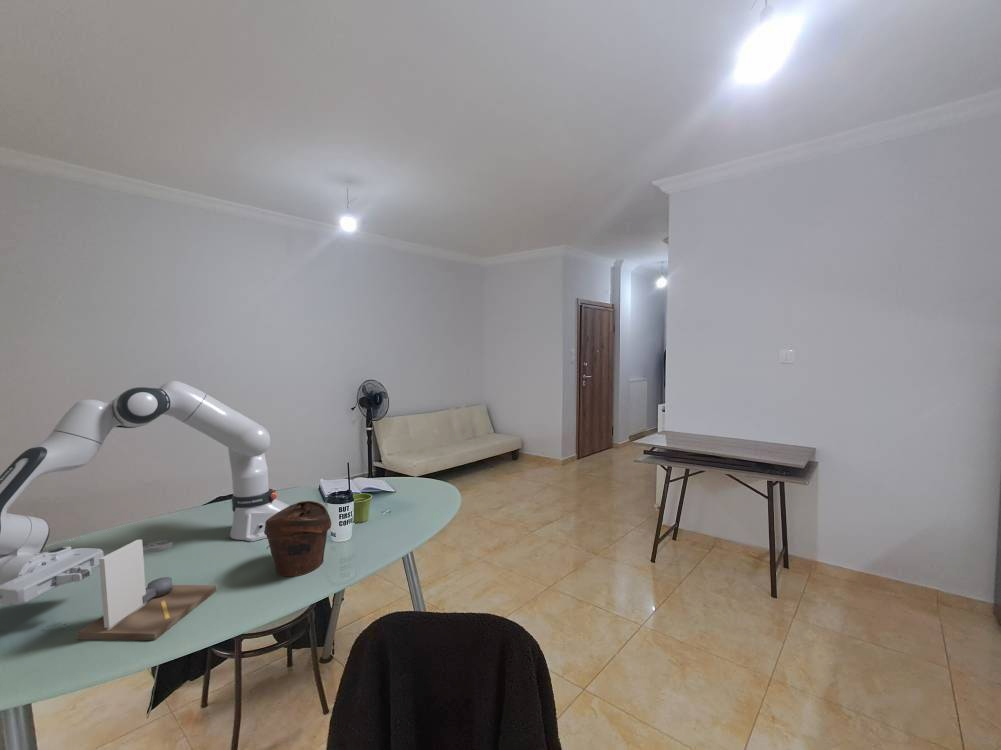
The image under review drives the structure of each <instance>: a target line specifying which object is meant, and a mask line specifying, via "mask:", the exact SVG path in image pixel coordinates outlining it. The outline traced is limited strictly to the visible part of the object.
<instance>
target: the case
mask: <svg viewBox="0 0 1001 750" xmlns="http://www.w3.org/2000/svg"><path fill="white" fill-rule="evenodd" d="M331 528H332V519H331V517H330V514H329V513H328V510H327V508H326V507H325V505H323V504H322V503H320V502H317V501H313V500H305V501H299V502H295V503H294V504H290V505H289V507H287V508H285V509H283V510H281V511H279V512H278V513H276V514H275V515H273V516H272V517H270V518H269V519H268V520H266V523H265V531H264V534H265V535H267V538H266V539H267V541H268V546H267V547H266V549H268V548H269V549H270V554H271V557H272V561H273V563H274V567H275V571H276V573H277V574H278V575H279V576H283V577H297V576H301V575H305V574H306V575H307V574H308V573H310V572H313V571H314V570H316V569H319V567H320V566H321V565H322V564H323V563H324V558H325V557H324V556H325V549H326V543H327V536H328V531H329V530H330V529H331Z"/></svg>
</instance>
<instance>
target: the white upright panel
mask: <svg viewBox="0 0 1001 750" xmlns="http://www.w3.org/2000/svg"><path fill="white" fill-rule="evenodd" d="M143 547H144V546H143V539H136V540H134V541H132V542H130V543H128V544H125V545H123V546H122V547H120V548H118V549H115V550H114V551H112V552H110V553H108V554H106V555H104V557H102V558H100V559H99V564H100V565H99V575H100V590H101V600H102V601H101V602H102V614H103V615H102V616H103V617H104V628H110V627H112V626H113V625H115V624H116V623H117V622H119V621H120V620H122V619H123V618H125V617H126V616H128V615H129V614H131V613H132V612H133V611H135V610H136V609H138V608H139V607H141V606H142V605H144V604H145V603H147V602H146V601H148V600H149V599H151V598H152V597H157V596H161V595H164V594H166V593H168V592H170V591H171V590H172V585H173V579H172V577H170V576H165V577H159V578H157V579H154V580H152V581H150V582H149V583H148V584H147V587H148V589H147V590H146V588H147V587H146V578H145V577H146V575H145V559H144V553H143Z"/></svg>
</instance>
